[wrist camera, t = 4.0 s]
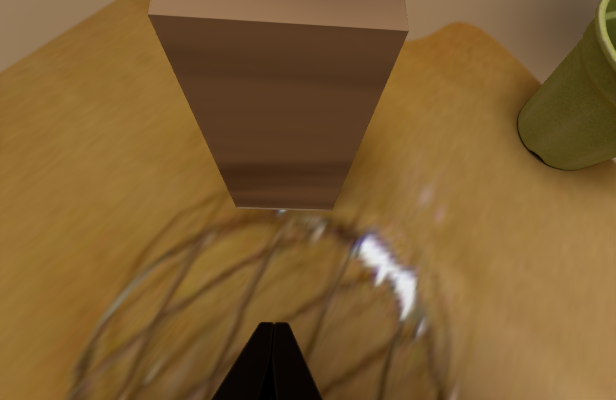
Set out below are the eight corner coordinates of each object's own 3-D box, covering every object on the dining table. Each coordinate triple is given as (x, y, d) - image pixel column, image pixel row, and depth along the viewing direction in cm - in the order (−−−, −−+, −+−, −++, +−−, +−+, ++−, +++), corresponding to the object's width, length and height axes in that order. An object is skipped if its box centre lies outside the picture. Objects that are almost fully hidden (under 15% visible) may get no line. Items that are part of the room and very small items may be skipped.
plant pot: (638, 194, 23) (835, 126, 15) (509, 193, 22) (641, 121, 14) (596, 84, 26) (739, -22, 18) (482, 81, 25) (576, -31, 17)
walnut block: (331, 211, 21) (408, 30, 8) (236, 208, 20) (147, 14, 7) (330, 130, 23) (389, -123, 10) (244, 126, 22) (185, -142, 9)
